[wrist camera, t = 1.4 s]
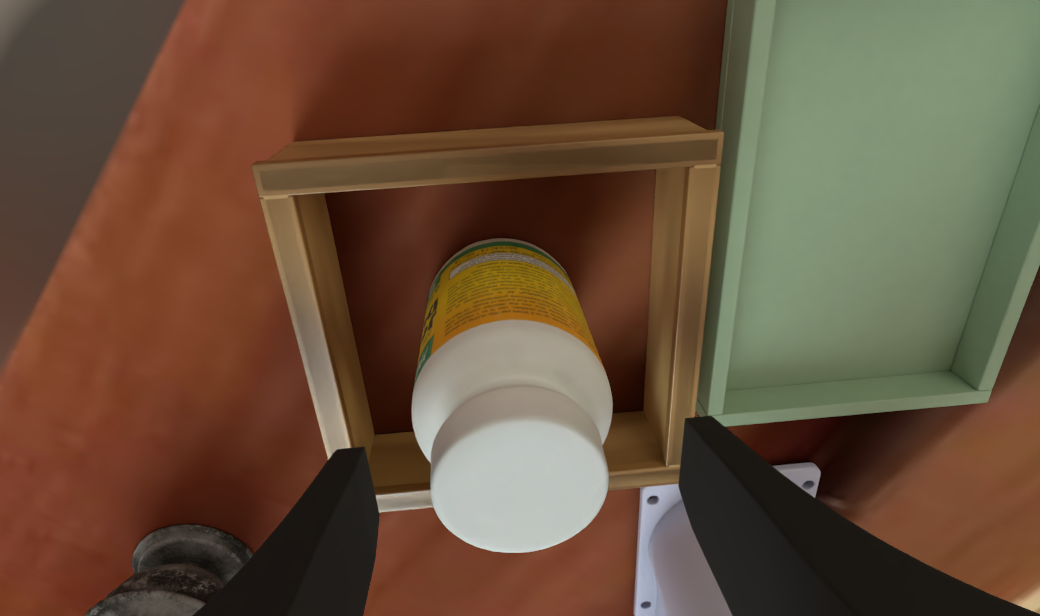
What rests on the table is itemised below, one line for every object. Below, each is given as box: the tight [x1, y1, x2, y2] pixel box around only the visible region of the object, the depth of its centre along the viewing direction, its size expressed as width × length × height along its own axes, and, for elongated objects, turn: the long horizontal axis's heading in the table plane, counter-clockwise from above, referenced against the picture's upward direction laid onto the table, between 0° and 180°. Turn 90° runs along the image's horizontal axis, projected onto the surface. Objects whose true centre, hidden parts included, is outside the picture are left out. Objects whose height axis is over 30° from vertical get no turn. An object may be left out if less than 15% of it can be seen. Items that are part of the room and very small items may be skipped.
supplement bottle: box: [412, 238, 613, 553], centre depth 17 cm, size 5×5×10 cm
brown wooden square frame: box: [251, 116, 724, 513], centre depth 20 cm, size 13×13×4 cm
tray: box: [696, 0, 1040, 427], centre depth 20 cm, size 16×11×2 cm
